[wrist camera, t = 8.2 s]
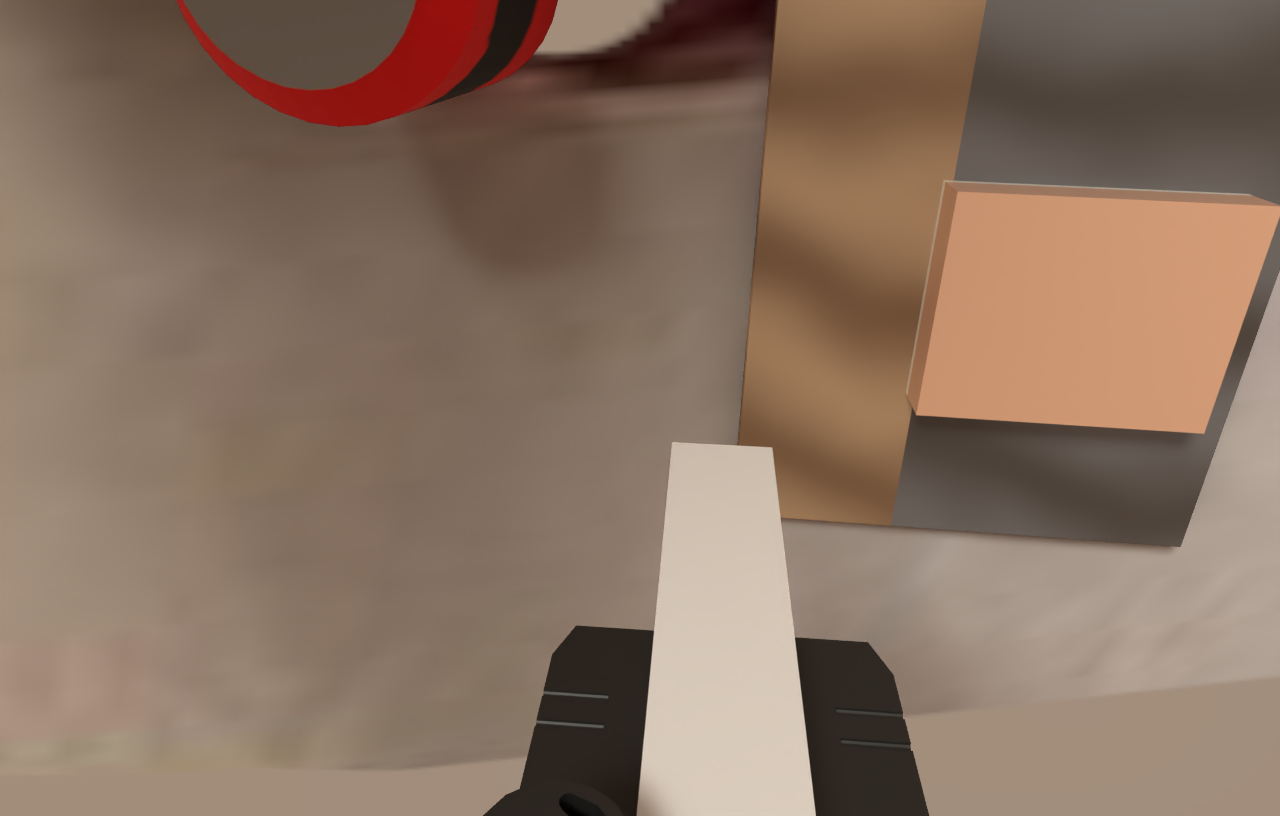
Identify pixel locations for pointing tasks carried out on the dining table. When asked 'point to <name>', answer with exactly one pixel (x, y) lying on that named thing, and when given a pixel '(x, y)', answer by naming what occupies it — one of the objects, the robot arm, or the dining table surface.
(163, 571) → the dining table surface
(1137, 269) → the tile
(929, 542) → the dining table surface
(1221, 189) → the board
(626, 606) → the dining table surface
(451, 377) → the dining table surface
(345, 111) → the soda can
